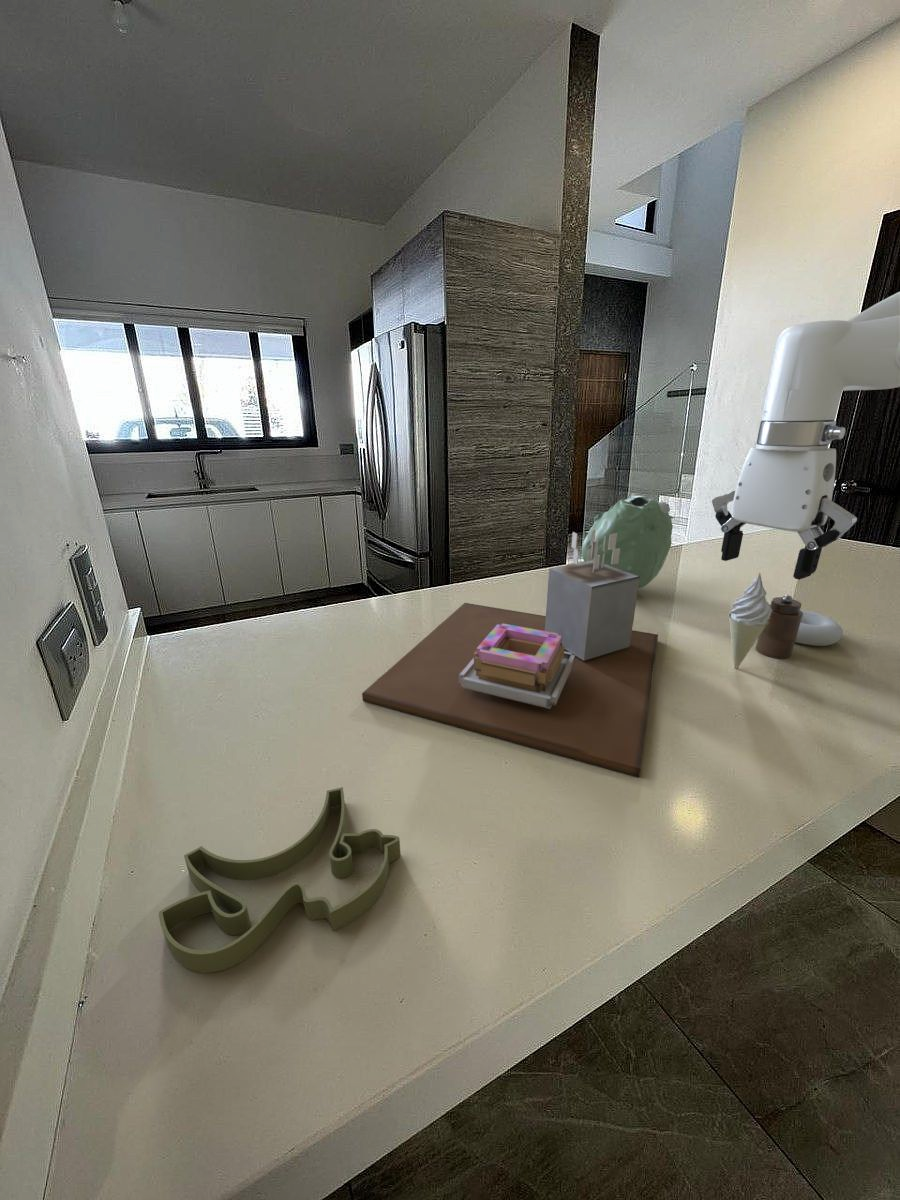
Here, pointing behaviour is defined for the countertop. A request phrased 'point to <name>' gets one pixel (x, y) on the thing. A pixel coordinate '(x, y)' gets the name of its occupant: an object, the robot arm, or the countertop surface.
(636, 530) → the green ceramic vase
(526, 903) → the countertop surface
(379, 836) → the cookie cutter
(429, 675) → the brown serving board set
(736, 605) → the ice cream cone
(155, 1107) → the countertop surface
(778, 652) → the pepper mill
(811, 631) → the donut
